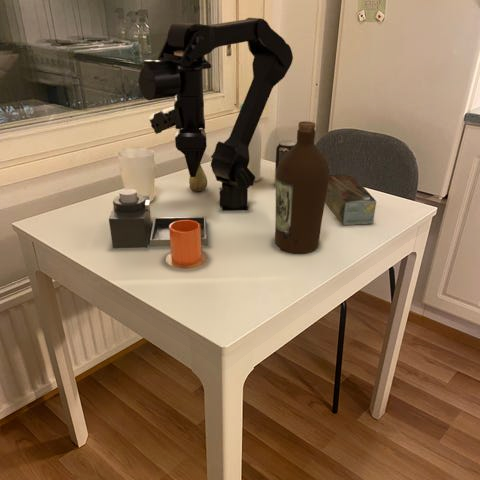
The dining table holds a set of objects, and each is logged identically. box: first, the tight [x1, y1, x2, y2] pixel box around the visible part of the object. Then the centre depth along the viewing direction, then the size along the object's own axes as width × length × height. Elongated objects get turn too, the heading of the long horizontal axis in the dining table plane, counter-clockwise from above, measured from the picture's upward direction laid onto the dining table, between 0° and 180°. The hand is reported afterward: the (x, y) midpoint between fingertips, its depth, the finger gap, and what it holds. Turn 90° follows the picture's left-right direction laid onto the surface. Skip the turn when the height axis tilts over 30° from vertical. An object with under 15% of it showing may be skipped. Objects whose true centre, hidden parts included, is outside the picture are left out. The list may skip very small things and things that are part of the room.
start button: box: [118, 188, 138, 203], centre depth 102 cm, size 4×4×2 cm
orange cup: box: [169, 220, 202, 265], centre depth 96 cm, size 6×6×7 cm
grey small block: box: [145, 200, 151, 212], centre depth 104 cm, size 1×3×2 cm, turn 4°
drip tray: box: [149, 216, 208, 248], centre depth 107 cm, size 12×12×2 cm
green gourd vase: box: [188, 163, 208, 192], centre depth 129 cm, size 6×5×12 cm
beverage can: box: [274, 139, 297, 186], centre depth 132 cm, size 6×6×12 cm
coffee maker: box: [108, 195, 152, 249], centre depth 105 cm, size 7×13×8 cm, turn 4°
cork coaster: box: [165, 251, 209, 270], centre depth 98 cm, size 8×8×1 cm
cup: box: [117, 147, 156, 203], centre depth 122 cm, size 9×9×12 cm
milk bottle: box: [239, 103, 262, 182], centre depth 135 cm, size 8×8×20 cm
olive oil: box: [274, 120, 330, 255], centre depth 98 cm, size 11×11×25 cm
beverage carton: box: [325, 173, 377, 226], centre depth 120 cm, size 8×19×7 cm, turn 7°
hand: (192, 170), depth 108 cm, fingers open, 9 cm apart
